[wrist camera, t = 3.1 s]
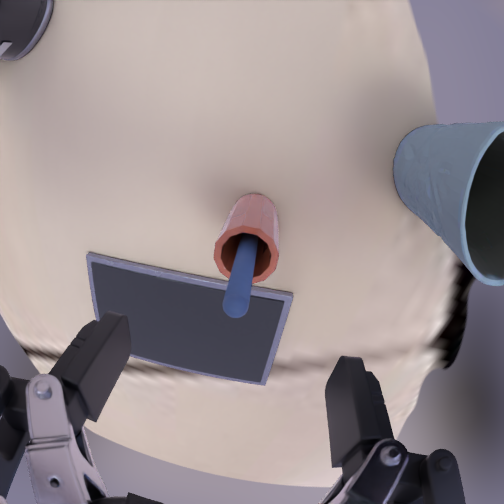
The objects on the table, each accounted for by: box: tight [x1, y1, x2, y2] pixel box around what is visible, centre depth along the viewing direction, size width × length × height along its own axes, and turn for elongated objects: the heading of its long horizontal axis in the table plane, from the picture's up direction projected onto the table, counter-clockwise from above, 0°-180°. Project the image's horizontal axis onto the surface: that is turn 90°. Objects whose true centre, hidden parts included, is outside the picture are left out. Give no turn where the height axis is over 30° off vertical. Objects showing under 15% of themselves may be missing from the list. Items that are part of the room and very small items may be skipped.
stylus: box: [223, 233, 259, 318], centre depth 18 cm, size 1×1×13 cm
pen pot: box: [214, 194, 279, 284], centre depth 21 cm, size 4×4×8 cm
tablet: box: [86, 252, 293, 386], centre depth 30 cm, size 22×14×1 cm, turn 81°
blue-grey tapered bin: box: [393, 122, 504, 286], centre depth 16 cm, size 10×10×12 cm
